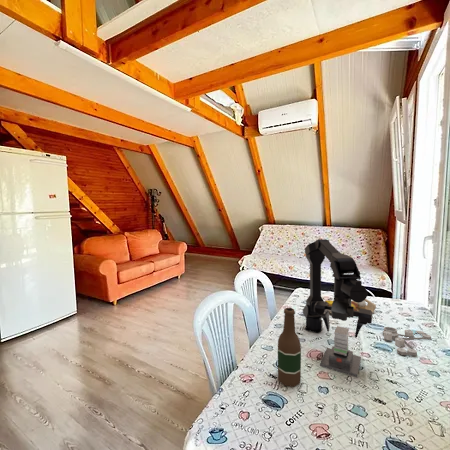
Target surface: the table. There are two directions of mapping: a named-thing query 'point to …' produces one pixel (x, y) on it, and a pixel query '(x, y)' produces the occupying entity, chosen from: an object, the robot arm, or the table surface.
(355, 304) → the toy food set
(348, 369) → the stand base
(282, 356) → the beer bottle
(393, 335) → the pulley system
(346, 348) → the grey slab
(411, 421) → the table surface
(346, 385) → the table surface
